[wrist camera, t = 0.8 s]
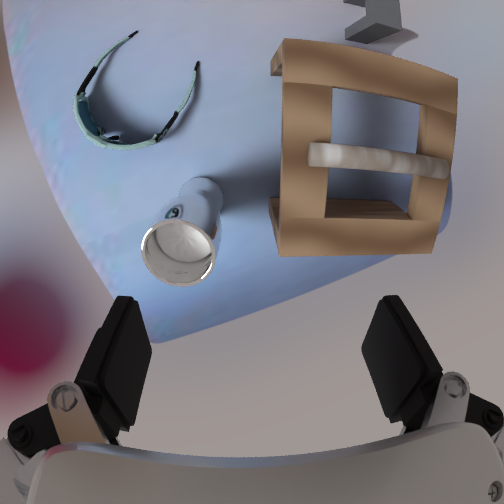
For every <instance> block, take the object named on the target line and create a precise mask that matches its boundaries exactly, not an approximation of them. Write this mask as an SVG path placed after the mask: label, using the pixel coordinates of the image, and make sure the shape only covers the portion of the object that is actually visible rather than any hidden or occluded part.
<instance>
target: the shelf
mask: <svg viewBox="0 0 504 504" xmlns="http://www.w3.org/2000/svg"><path fill="white" fill-rule="evenodd" d="M271 76H282V138H281V178H280V198H269V214H270V218H271V223H272V227H273V231H274V235H275V240H276V244H277V248H278V253H279V257H292V256H343V255H389V254H428V253H432V250H433V247H434V243H435V240H436V236H437V232H438V229H439V225H440V221H441V216H442V212H443V208H444V203H445V198H446V193H447V188H448V183H449V177H450V171H451V164H452V157H453V149H454V141H455V131H456V117H457V97H458V79H457V78H455V77H452V76H449V75H447V74H445V73H442V72H439V71H437V70H434V69H432V68H429V67H426V66H423V65H420V64H417V63H414V62H411V61H408V60H404V59H401V58H397V57H394V56H390V55H386V54H382V53H378V52H374V51H370V50H365V49H361V48H356V47H350V46H345V45H339V44H333V43H326V42H319V41H310V40H300V39H288V38H284V40H283V42H282V43H281V45H280V46H279V48H278V50H277V51H276V53H275V55H274V56H273V58H272V60H271ZM332 88H339V89H346V90H353V91H359V92H365V93H371V94H376V95H381V96H386V97H391V98H395V99H400V100H404V101H408V102H412V103H416V104H420V117H419V131H418V141H417V151H416V154H413V153H407V152H400V151H394V150H387V149H379V148H371V147H362V146H352V145H342V144H330V141H331V120H332ZM329 167H333V168H349V169H362V170H373V171H384V172H393V173H402V174H410V175H413V181H412V187H411V193H410V198H409V204H408V209H407V213H406V212H404V211H403V210H402V209H401V208H399V207H398V206H397V205H395V204H394V203H393V202H391V201H378V200H357V199H329V198H326V195H327V184H328V171H329Z"/></svg>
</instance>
